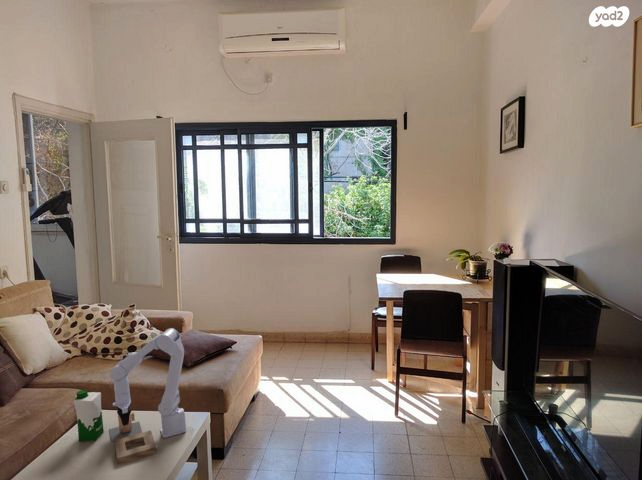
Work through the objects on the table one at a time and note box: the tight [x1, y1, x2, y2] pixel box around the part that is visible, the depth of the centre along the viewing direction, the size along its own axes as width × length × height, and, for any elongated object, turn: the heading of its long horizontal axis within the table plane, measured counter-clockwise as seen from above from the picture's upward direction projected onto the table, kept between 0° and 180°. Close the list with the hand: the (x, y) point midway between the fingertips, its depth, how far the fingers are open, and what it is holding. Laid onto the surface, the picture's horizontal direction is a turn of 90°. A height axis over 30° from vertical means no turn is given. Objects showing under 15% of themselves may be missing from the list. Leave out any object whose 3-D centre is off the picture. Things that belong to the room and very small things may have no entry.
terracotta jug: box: [117, 411, 136, 433], centre depth 192 cm, size 6×5×8 cm
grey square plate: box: [109, 421, 143, 444], centre depth 193 cm, size 12×12×1 cm
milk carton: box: [73, 389, 104, 442], centre depth 189 cm, size 9×9×20 cm
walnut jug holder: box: [114, 430, 158, 465], centre depth 180 cm, size 14×14×2 cm
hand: (125, 421), depth 192 cm, fingers closed on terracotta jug, 5 cm apart
